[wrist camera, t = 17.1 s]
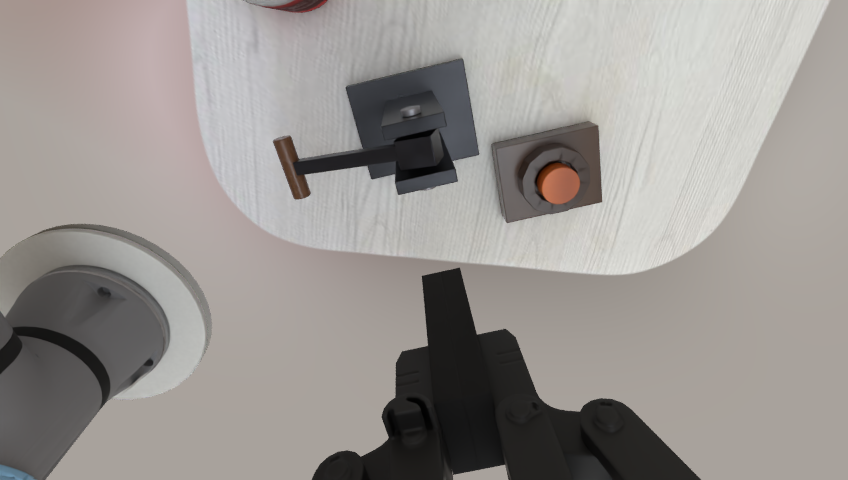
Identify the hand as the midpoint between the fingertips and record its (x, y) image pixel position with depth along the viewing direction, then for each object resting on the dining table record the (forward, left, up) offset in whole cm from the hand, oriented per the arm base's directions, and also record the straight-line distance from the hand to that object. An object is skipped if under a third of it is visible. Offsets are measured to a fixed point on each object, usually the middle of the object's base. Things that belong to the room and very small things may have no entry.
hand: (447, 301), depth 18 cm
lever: (-5, +2, -20) cm, 21 cm away
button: (+12, -6, -26) cm, 29 cm away
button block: (+12, -6, -29) cm, 32 cm away
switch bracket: (0, +2, -29) cm, 29 cm away
